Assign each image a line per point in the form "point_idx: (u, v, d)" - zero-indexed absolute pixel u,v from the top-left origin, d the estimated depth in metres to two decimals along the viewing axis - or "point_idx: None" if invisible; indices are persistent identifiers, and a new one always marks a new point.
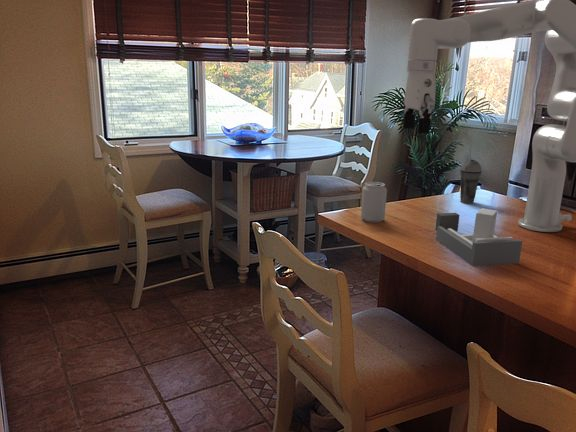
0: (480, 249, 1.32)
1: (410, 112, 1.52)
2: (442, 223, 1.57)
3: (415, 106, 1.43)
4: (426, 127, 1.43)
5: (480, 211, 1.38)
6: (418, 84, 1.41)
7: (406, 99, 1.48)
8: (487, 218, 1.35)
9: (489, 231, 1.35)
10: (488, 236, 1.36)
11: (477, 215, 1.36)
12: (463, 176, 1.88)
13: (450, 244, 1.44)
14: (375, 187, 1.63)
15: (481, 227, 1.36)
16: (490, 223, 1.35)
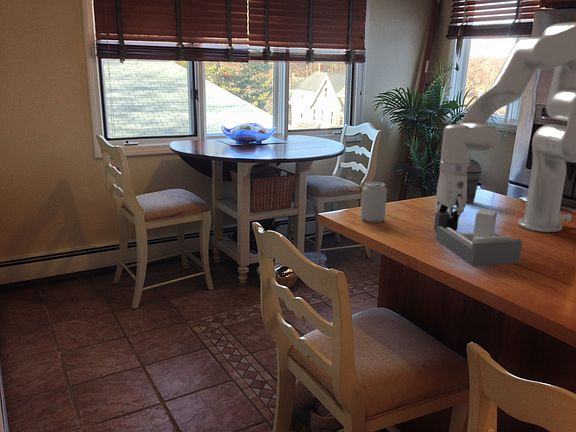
0: (480, 249, 1.32)
1: (444, 210, 1.60)
2: (441, 222, 1.57)
3: (448, 204, 1.53)
4: (454, 226, 1.55)
5: (480, 211, 1.38)
6: (451, 185, 1.51)
7: (438, 194, 1.58)
8: (487, 218, 1.35)
9: (489, 231, 1.35)
10: (488, 236, 1.36)
11: (477, 215, 1.36)
12: None
13: (450, 244, 1.44)
14: (375, 187, 1.63)
15: (481, 227, 1.36)
16: (490, 223, 1.35)
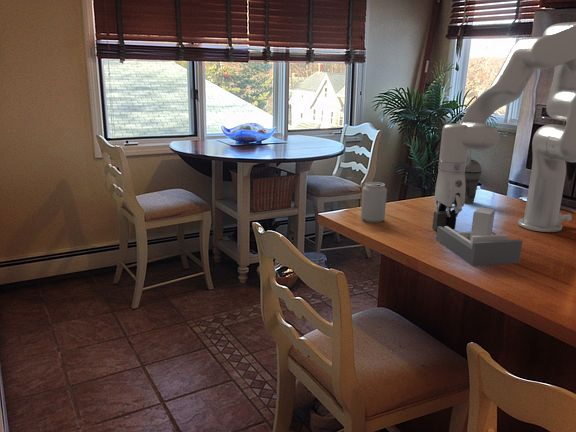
0: (480, 249, 1.32)
1: (443, 209, 1.61)
2: (439, 221, 1.59)
3: (446, 203, 1.54)
4: (452, 224, 1.56)
5: (478, 210, 1.39)
6: (450, 184, 1.51)
7: (437, 193, 1.59)
8: (485, 216, 1.36)
9: (486, 229, 1.37)
10: (485, 234, 1.37)
11: (475, 214, 1.37)
12: None
13: (450, 244, 1.44)
14: (375, 187, 1.63)
15: (478, 226, 1.37)
16: (487, 221, 1.36)
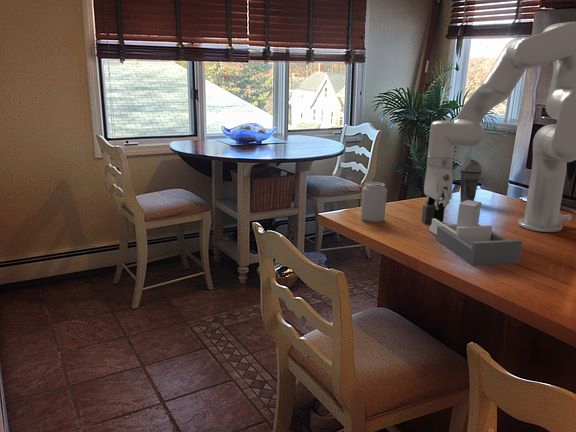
0: (480, 249, 1.32)
1: (431, 203, 1.68)
2: (428, 214, 1.66)
3: (434, 197, 1.61)
4: (440, 217, 1.63)
5: (464, 202, 1.46)
6: (438, 178, 1.58)
7: (425, 187, 1.66)
8: (469, 208, 1.43)
9: (471, 221, 1.44)
10: (470, 225, 1.44)
11: (460, 205, 1.45)
12: (463, 176, 1.88)
13: (450, 244, 1.44)
14: (375, 187, 1.63)
15: (464, 217, 1.45)
16: (472, 213, 1.43)
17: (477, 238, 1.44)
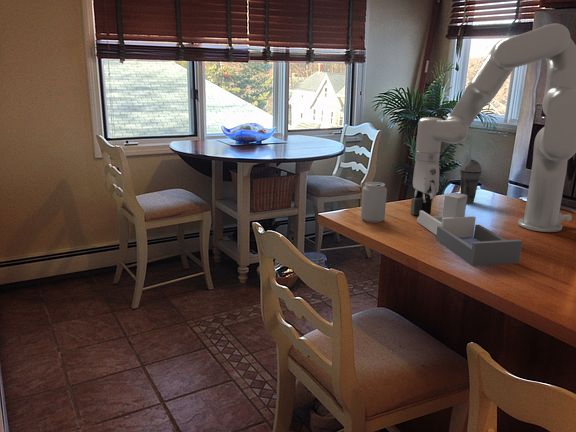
0: (480, 249, 1.32)
1: (420, 196, 1.76)
2: (416, 206, 1.74)
3: (422, 190, 1.69)
4: (428, 209, 1.71)
5: (450, 194, 1.54)
6: (425, 172, 1.66)
7: (414, 181, 1.74)
8: (454, 200, 1.51)
9: (455, 212, 1.52)
10: (454, 216, 1.52)
11: (445, 197, 1.53)
12: (463, 176, 1.88)
13: (450, 244, 1.44)
14: (375, 186, 1.63)
15: (448, 208, 1.53)
16: (456, 205, 1.51)
17: (461, 228, 1.52)
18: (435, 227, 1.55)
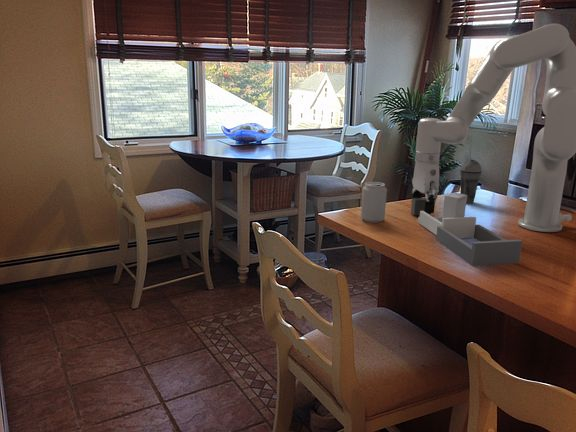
0: (480, 249, 1.32)
1: (417, 192, 1.77)
2: (417, 207, 1.73)
3: (422, 190, 1.69)
4: (431, 208, 1.69)
5: (450, 194, 1.54)
6: (425, 173, 1.67)
7: (414, 182, 1.74)
8: (453, 200, 1.51)
9: (455, 212, 1.52)
10: (454, 216, 1.52)
11: (445, 197, 1.53)
12: (463, 176, 1.88)
13: (450, 244, 1.44)
14: (375, 187, 1.63)
15: (448, 208, 1.53)
16: (455, 205, 1.51)
17: (461, 229, 1.52)
18: (436, 227, 1.55)
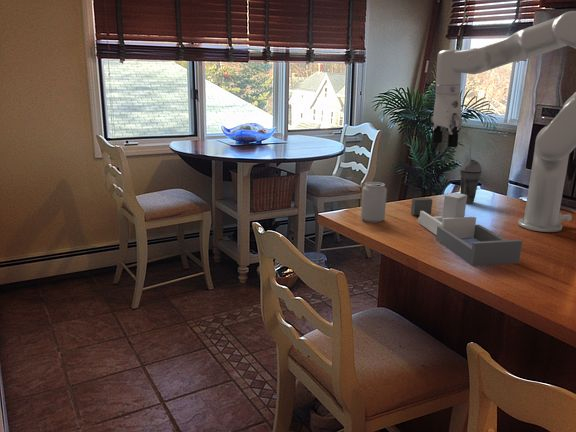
0: (480, 249, 1.32)
1: (438, 129, 1.75)
2: (417, 207, 1.73)
3: (444, 124, 1.67)
4: (455, 142, 1.66)
5: (450, 194, 1.54)
6: (447, 105, 1.64)
7: (435, 118, 1.72)
8: (453, 200, 1.51)
9: (455, 212, 1.52)
10: (454, 216, 1.52)
11: (445, 197, 1.53)
12: (463, 176, 1.88)
13: (450, 244, 1.44)
14: (375, 187, 1.63)
15: (448, 208, 1.53)
16: (455, 205, 1.51)
17: (461, 229, 1.52)
18: (436, 227, 1.55)
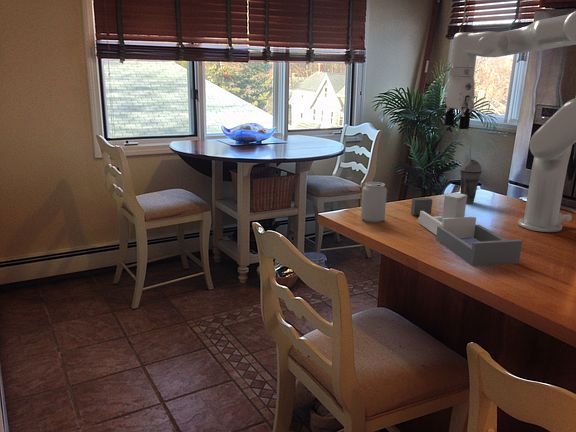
0: (480, 249, 1.32)
1: (451, 111, 1.78)
2: (417, 207, 1.73)
3: (457, 106, 1.69)
4: (466, 124, 1.69)
5: (450, 194, 1.54)
6: (460, 87, 1.67)
7: (448, 100, 1.74)
8: (453, 200, 1.51)
9: (455, 212, 1.52)
10: (454, 216, 1.52)
11: (445, 197, 1.53)
12: (463, 176, 1.88)
13: (450, 244, 1.44)
14: (375, 187, 1.63)
15: (448, 208, 1.53)
16: (455, 205, 1.51)
17: (461, 229, 1.52)
18: (436, 227, 1.55)
